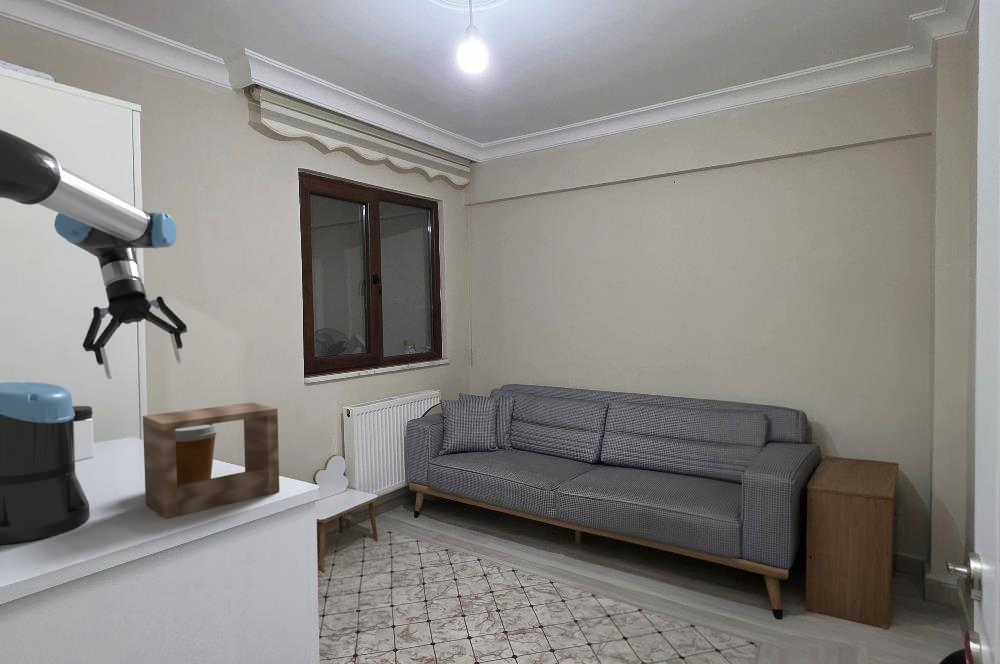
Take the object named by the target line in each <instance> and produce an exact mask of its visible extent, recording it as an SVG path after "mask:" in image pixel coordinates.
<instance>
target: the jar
mask: <svg viewBox="0 0 1000 664" xmlns="http://www.w3.org/2000/svg"><path fill="white" fill-rule="evenodd" d="M72 406H73V405H72ZM73 410H74V412H75V413H74V414H75V415H74V450H75V463H77V462H78V461H84V460H88V459H93V458H94V456H95V455H94V454H95V453H94V452H95V451H94V439H95V438H94V428H93V427H94V426H93V425H94V424H93V423H94V422H93V408H92V406H89V405H78V406H77V405H76V406H75V405H74V406H73Z"/></svg>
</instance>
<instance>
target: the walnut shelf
mask: <svg viewBox="0 0 1000 664" xmlns="http://www.w3.org/2000/svg"><path fill="white" fill-rule="evenodd" d="M278 413H279V412H278V408H277V407H273V406H268V405H264V404H261V403H258V402H257V403H256V402H245V403H239V404H238V403H237V404H230V405H229V404H228V405H221V406H215V407H214V406H213V407H206V408H205V407H204V408H197V409H196V408H195V409H190V410H189V409H188V410H181V411H180V410H179V411H173V412H172V411H171V412H164V413H155V414H148V415H143V416H142V434H143V459H144V460H143V461H144V463H143V464H144V487H145V489H144V490H145V491H144V493H145V505H146V506H147V507H148V508H150V509H151V510H153V511H154V512H155V513H156V514H157V515H159V516H160V517H162V518H163V519H164V520H166V519H171V518H176V517H179V516H183V515H188V514H192V513H197V512H201V511H204V510H209V509H213V508H217V507H221V506H226V505H230V504H233V503H237V502H241V501H242V500H243V501H246V499H247V500H251V499H255V498H259V497H258V496H260V497H263V496H262V495H264V496H267V495H266V494H268V495H271V493H272V494H276V493H279V492H280V464H279V462H280V459H279V423H278V422H279V420H278V419H279V417H278V415H279V414H278ZM237 421H243V438H244V440H243V441H244V443H243V444H244V471H240V472H237V473H231V474H227V475H221V476H218V477H211V479H207V480H202V481H197V482H192V483H187V484H182V485H177V468H176V436H175V429H180V428H187V427H194V426H201V425H208V424H215V425H216V424H222V423H229V422H237ZM278 491H279V492H278ZM275 492H276V493H275ZM254 497H255V498H254ZM250 498H251V499H250ZM243 501H242V502H243Z"/></svg>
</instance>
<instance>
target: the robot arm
mask: <svg viewBox="0 0 1000 664" xmlns="http://www.w3.org/2000/svg"><path fill="white" fill-rule="evenodd" d="M0 198H1V199H2V198H3V199H8V200H12V201H14V202H16V203H18V204H19V203H20V204H21V205H27V206H30V205H31V206H32V205H40V206H42V207H45V208H47V209H49V210H51V211H54V212H56V213H57V215H55V218H54V229H55V231H56V233H57V234H58V235H59V236H61V237H62V238H63V239H65V240H66V241H67V242H68V243H70V244H73V245H74V246H76V247H79V248H80V249H82V250H84V251H86V252H88V253H89V254H91V255H93V256H95V257H96V258H97V259H98V263H99V267H100V272H101V275H102V282H103V284H104V285H103V286H104V287H105V293H106V297H107V301H108V305H107V307H101V308H100V307H98V306H94V307H93V308H92V310H93V317H92V319H91V322H90V324H89V327H88V330H87V333H86V334H85V335H86V336H85V338H84V339H83V343H82V348H83V349H84V351H85V352H93V353H94V356H95V359H96V363H97V364H98V365H99V366H101V365H103V367H104V372H105V375H106V378H107V380H111V379H113V375H112V370H111V366H110V363H109V358H108V354H107V350H106V348H105V347H106V345H107V344H108V342H109V341H110V340H111V338H112V337H113V335H114V334H115V332H116V331H117V329H119V328H120V326H121V325H122V324H125V325H130V324H132V323H140V322H142V321H143V320H146V322H149V323H152V324H153V325H155V326H156V327H158V328H159V329H162V330H163V331H165V332H167V334H169V336H170V340H171V345H172V348H173V352H174V356H175V359H176V363H177V365H179V364H182V360H181V356H180V353H179V350H180V349H183V342H182V338H181V335H182V334H185V333H187V332H188V326H187V325H186V324H185V322H184V321H183V320H181V319H180V318H179V317H178V315H177V314H175V312H174V311H172V310H171V308H170V307H169V306H167V304H165V300H164V298H163V297H162V296H159V295H158V296H157V297H156V298H155V299H151V300H149V299H148V298H147V293H146V290H145V285H144V283H143V279H142V275H141V270H140V266H139V263H138V260H137V259H138V258H137V255H136V251H135V249H155V250H156V249H158V248H159V249H160V248H161V249H162V248H170V247H172V246H173V245H174V244H175V242H176V240H177V233H178V232H177V231H178V230H177V226H176V225H177V224H176V222H175V220H174V218H173V217H172V216H171V215H170V214H168V213H165V212H164V213H161V212H147V211H145V210H143V209H141V208H139V207H137V206H136V205H134V204H131V203H129V201H126V200H125V199H122V198H120V197H119V196H116V195H115V194H113V193H111V192H110V191H107V190H106V189H104V188H102V187H100V186H98V185H96V184H95V183H93V182H91V181H90V180H87V179H85V178H83V177H82V176H80V175H78V174H76V173H74V172H72V171H70V170H69V169H67V168H65V167H63V166H61V165H60V162H59V161H58V159H57V158H56V157H55V156H54V155H53V154H51V153H50V152H48V151H47V150H45V149H43V148H42V147H39V146H38V145H35V144H33V143H32V142H29V141H28V140H25V139H23V138H21V137H19V136H16V135H15V134H12V133H9V132H8V131H4V130H3V129H0ZM152 307H154V308H155V309H158V310H160V312H161V313H162V314H163V315H164V316H165V317H167V319H168V320H170V322H171V323H173V325H172V324H170V323H169V322H167V321H166V320H163V318H160V317H159V316H158V315H156V314H154V313H153V312H152V311H150V309H151V308H152ZM108 314H109V315H111V318H110V322H109V323H108V325H107V326H106V327H105V328H104V330H103V331H102V332H101V334H100V335H99V336H98V333H99V330H100V328H101V324H102V321H103V319H105V318H106V316H107V315H108ZM97 336H98V338H97V339H96V337H97ZM74 413H75V412H74V410H73V399H72V394H71V393H70V392H69V390H68V389H67V388H66V387H64V386H60V385H57V384H51V383H45V382H30V381H29V382H19V381H18V382H17V381H14V382H13V381H12V382H9V381H8V382H0V545H6V544H7V545H9V544H16V543H17V544H18V543H23V542H28V541H34V540H39V539H43V538H47V537H52V536H55V535H58V534H61V533H64V532H68V531H70V530H73V529H75V528H77V527H79V526H81V525H83V524H85V523H86V522H87V521H88V520H89V518H90V515H91V514H90V503H89V500H88V499H87V496H86V494H85V492H84V490H83V487H82V485H81V484H80V481H79V478H78V475H77V474H76V462H75V450H74V415H75V414H74Z"/></svg>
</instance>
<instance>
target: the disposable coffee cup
mask: <svg viewBox="0 0 1000 664" xmlns="http://www.w3.org/2000/svg"><path fill="white" fill-rule="evenodd" d="M218 431H219V430H218V429H217V426H216V423H215V424H208V425H201V426H194V427H187V428H180V429H175V436H176V468H177V485H182V484H187V483H192V482H197V481H202V480H207V479H212V473H213V472H212V469H213V462H214V461H213V460H214V451H215V443H216V442H215V441H216V436H217V433H218Z"/></svg>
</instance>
